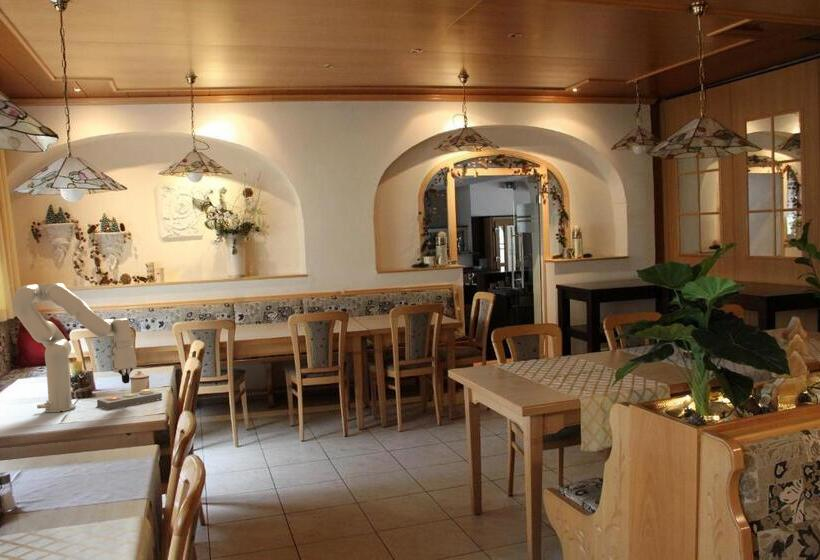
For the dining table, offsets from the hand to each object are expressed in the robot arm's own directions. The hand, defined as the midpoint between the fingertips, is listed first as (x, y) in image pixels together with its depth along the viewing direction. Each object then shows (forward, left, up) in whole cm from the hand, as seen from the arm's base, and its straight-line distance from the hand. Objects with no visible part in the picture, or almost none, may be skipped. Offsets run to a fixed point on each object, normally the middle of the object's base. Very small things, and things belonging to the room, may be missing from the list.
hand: (126, 382), depth 330 cm
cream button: (+10, 0, -8) cm, 13 cm away
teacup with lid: (+15, +17, -10) cm, 25 cm away
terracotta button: (-6, 0, -9) cm, 11 cm away
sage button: (+2, 0, -9) cm, 9 cm away
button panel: (+2, 0, -10) cm, 10 cm away
